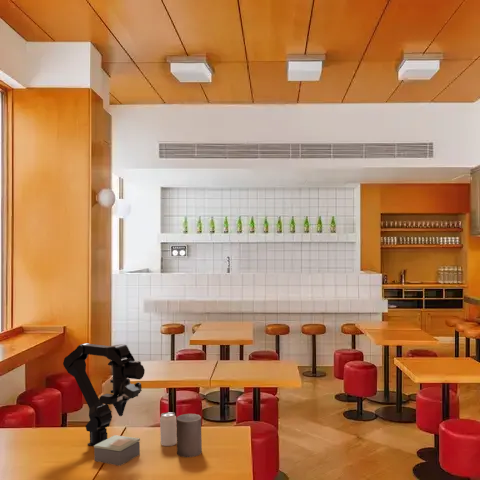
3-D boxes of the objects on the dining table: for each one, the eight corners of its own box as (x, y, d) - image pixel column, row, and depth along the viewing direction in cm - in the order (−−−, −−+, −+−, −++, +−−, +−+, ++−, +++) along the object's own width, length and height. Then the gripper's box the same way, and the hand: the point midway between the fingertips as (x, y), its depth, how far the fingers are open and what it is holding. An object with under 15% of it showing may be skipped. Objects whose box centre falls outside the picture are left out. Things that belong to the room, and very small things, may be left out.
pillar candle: (171, 453, 222) (170, 414, 222) (190, 446, 229) (189, 408, 229) (188, 459, 215) (187, 420, 215) (207, 452, 222) (206, 413, 222)
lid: (94, 447, 216) (93, 445, 216) (114, 437, 227) (114, 434, 227) (119, 451, 211) (119, 448, 211) (140, 440, 222) (139, 438, 222)
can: (174, 447, 229) (173, 417, 229) (158, 446, 230) (157, 416, 230) (178, 441, 235) (178, 412, 235) (163, 440, 236) (163, 411, 236)
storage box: (94, 461, 216) (94, 447, 216) (115, 450, 227) (114, 437, 227) (120, 465, 211) (119, 452, 211) (139, 454, 222) (139, 441, 222)
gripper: (120, 384, 217) (121, 425, 217) (150, 373, 233) (151, 411, 233) (97, 381, 222) (98, 421, 222) (128, 371, 239) (129, 408, 239)
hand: (120, 415), depth 229 cm, fingers closed
